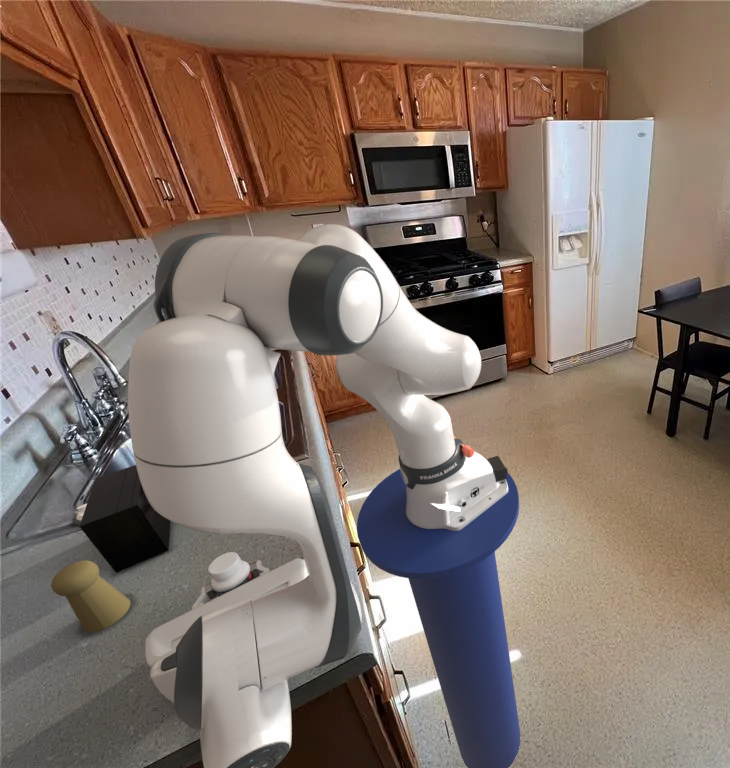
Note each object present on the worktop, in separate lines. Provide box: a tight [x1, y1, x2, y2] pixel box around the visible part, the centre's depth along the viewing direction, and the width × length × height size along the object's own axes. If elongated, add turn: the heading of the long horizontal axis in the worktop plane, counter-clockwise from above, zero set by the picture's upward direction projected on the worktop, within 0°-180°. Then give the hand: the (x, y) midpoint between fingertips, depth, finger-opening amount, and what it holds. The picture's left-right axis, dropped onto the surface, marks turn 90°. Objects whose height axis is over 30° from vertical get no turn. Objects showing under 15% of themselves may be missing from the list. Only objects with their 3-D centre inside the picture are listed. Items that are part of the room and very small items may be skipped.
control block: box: [78, 464, 171, 574], centre depth 81 cm, size 8×16×12 cm, turn 35°
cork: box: [50, 560, 131, 634], centre depth 66 cm, size 6×6×11 cm
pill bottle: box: [208, 551, 257, 597], centre depth 65 cm, size 5×5×9 cm
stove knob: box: [73, 503, 87, 527], centre depth 90 cm, size 7×7×3 cm
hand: (232, 575), depth 65 cm, fingers closed on pill bottle, 5 cm apart
